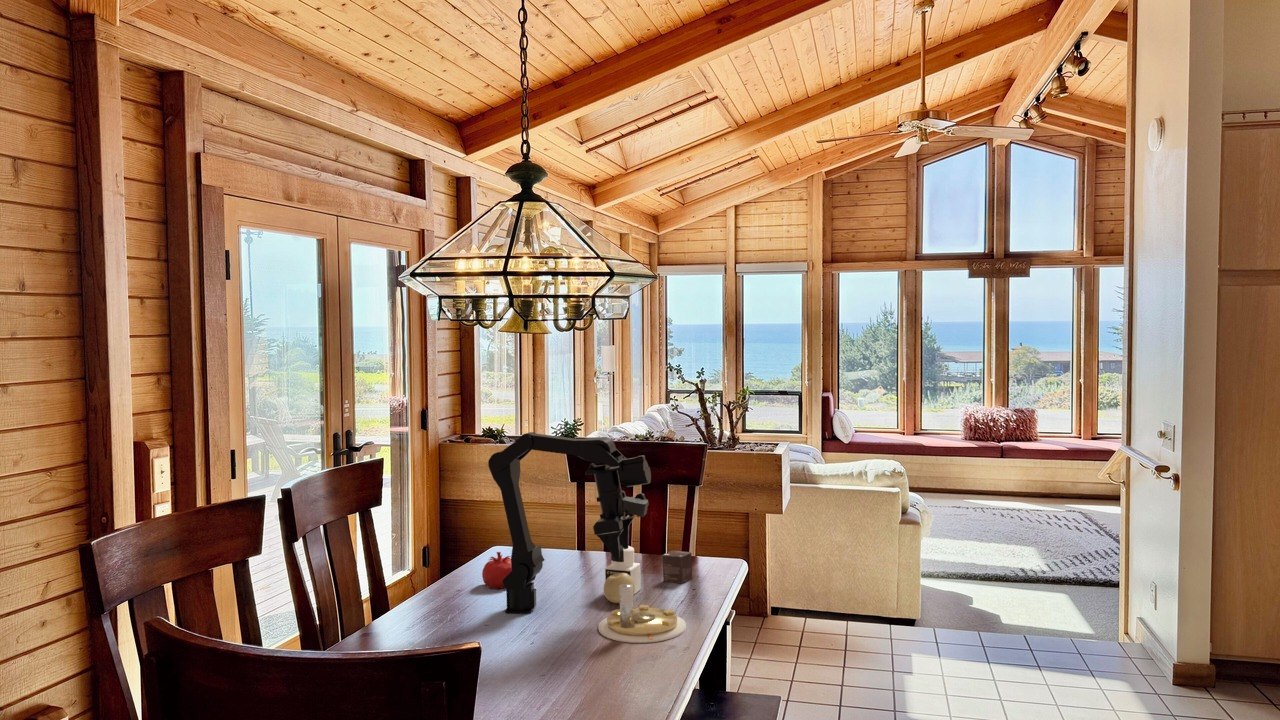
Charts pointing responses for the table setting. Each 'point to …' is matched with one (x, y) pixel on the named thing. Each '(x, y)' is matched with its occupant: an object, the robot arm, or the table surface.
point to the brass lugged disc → (639, 617)
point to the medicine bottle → (625, 566)
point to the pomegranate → (496, 571)
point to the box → (677, 566)
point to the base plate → (642, 639)
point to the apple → (616, 586)
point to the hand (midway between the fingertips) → (621, 553)
